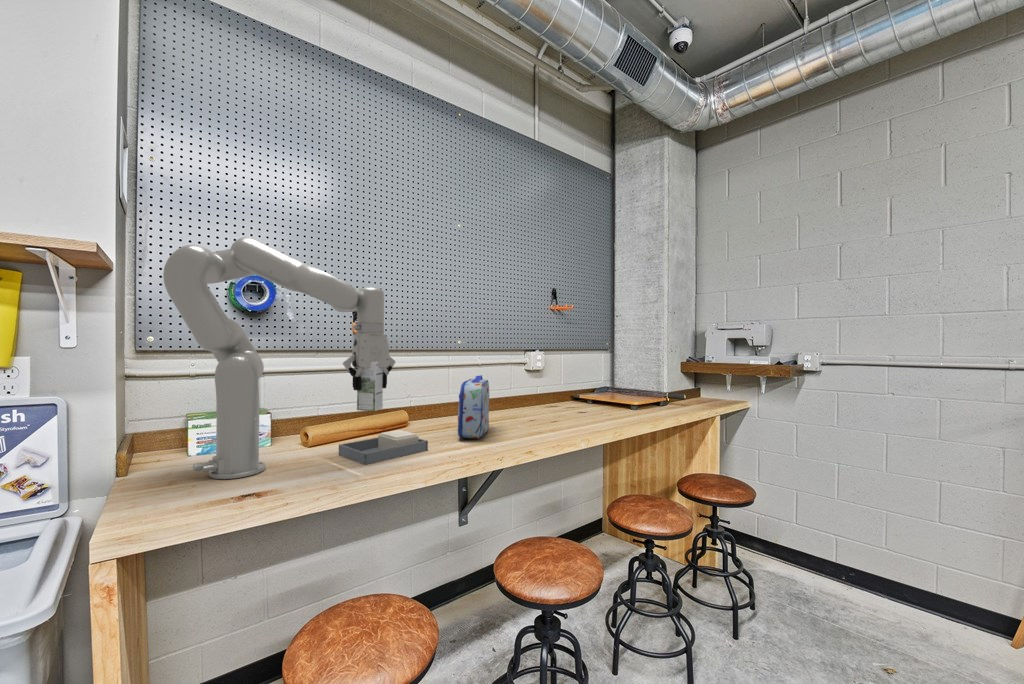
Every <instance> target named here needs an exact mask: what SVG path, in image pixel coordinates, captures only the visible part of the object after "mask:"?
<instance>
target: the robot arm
mask: <svg viewBox="0 0 1024 684" xmlns="http://www.w3.org/2000/svg"><path fill="white" fill-rule="evenodd" d="M162 275H163V277H162V278H163V284H164V288H165V290H166V292H167V294H168V296H169V298H170V300H171V301H172V303H173V304H174V306H175V308H176V309H177V312H179V314H180V316H181V318H182V320H183V321H184V323H185V324H186V326H187V327H188V330H189V331H190V332H191V334H192V336H193V338H194V340H195V341H196V343H197V344H198V345H199V347H200V348H201V349H203V350H205V351H208V352H211V353H212V354H213V357H214V358H215V360H216V361H217V362H218V364H217V365H216V367H215V370H214V371H215V372H214V383H215V384H214V385H215V397H216V398H215V399H216V400H215V401H216V406H215V407H216V427H215V428H216V434H215V435H216V438H215V439H216V440H215V441H216V442H215V447H216V449H215V451H216V452H215V455H214V456H212V457H211V458H212V459H209V460H208V461H205V462H198V463H194V464H193V465H192V470H193V472H194V473H196V472H208V476H209V477H210V478H211V479H215V480H216V479H217V480H231V479H232V480H233V479H238V478H239V479H241V478H245V477H246V478H247V477H249V476H253V475H257V474H259V473H262V472H263V471H264V470H265V469H266V463H265V462H263V461H260V379H261V377H262V376H263V373H264V368H265V367H264V362H263V360H262V358H261V356H260V355H259V354H258V351H257V349H255V347H254V346H253V344H252V342H251V340H250V339H249V337H248V335H247V334H246V332H245V331H244V329H243V328H242V326H241V325H240V324H239V323H238V322H236V320H234V319H232V318H229V317H228V315H227V314H226V313H225V312H224V310H223V308H222V307H221V305H220V303H219V302H218V300H217V299H216V297H215V295H214V294H213V292H212V291H211V289H210V288H209V286H208V285H210V284H212V285H213V284H217V283H223V282H229V281H232V280H237V279H241V278H246V277H251V276H254V275H256V276H259V277H261V278H263V279H265V280H267V281H269V282H271V283H273V284H275V285H277V286H280V287H282V288H284V289H286V290H289V291H293V292H297V293H298V292H299V293H302V294H305V295H307V296H310V297H312V298H314V299H317V300H319V301H321V302H323V303H326V304H327V305H330V307H331V308H332V309H333V310H335V312H339V313H351V312H356V315H357V317H356V319H357V321H356V322H357V323H356V324H355V325H353V326H352V329H353V330H354V331H356V333H355V334H354V338H353V342H352V350H351V352H352V353H351V356H350V357H348V358H347V359H346V360H344V361H343V362H342V365H343V366H344V368H345V369H346V371H347V372H348V373H349V374H350V376H351V377H352V388H353V391H360V390H361V377H359V375H360V373H361V371H362V370H363V368H370V367H371V363H372V362H376V361H378V367H379V368H382V369H383V389H387V385H388V375H389V374H390V372H391V371H392V369H393V367H394V365H395V364H396V360H395V359H393V358H392V357H391V356H390V348H389V347H390V346H389V341H388V335H387V334H384V333H385V324H384V323H385V293H384V290H382V288H378V287H369V286H368V287H366V286H365V287H361V288H359V289H356V288H355V287H354V286H353V285H351V284H349V283H348V282H346V281H344V280H342V279H340V278H338V277H336V276H333V275H332V274H330V273H328V272H325V271H324V270H320V269H319V268H316V267H314V266H312V265H309V264H308V263H305V262H303V261H301V260H298V259H297V258H294V257H292V256H290V255H288V254H286V253H285V252H283V251H280V250H278V249H276V248H274V247H272V246H270V245H268V244H266V243H264V242H262V241H259V240H257V239H255V238H252V237H246V236H244V237H240V238H237V239H236V240H235V241H233V243H232V244H231V246H230V248H228V249H223V250H216V251H211V250H209V249H208V248H206V247H204V246H201V245H195V244H187V245H183V246H181V247H179V248H177V249H176V250H175V251H173V253H171V255H170V256H169V257H168V258H167V260H166V262H165V264H164V267H163V274H162ZM357 368H358V369H357Z"/></svg>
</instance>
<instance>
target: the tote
mask: <svg viewBox="0 0 1024 684" xmlns="http://www.w3.org/2000/svg"><path fill="white" fill-rule="evenodd" d="M428 445H429V440H426V439H422V438H419V441H418V442H417V443H412V444H407V445H403V446H398V447H393V448H389V449H384V450H380V449H378V437H373V438H369V439H363V440H361V439H360V440H356V441H352V442H351V441H350V442H347V443H341V444H338V455H339V456H340V457H344V458H345V459H348V460H351V461H354V462H357V463H360V464H361V465H364V466H367V465H371V464H375V463H380V462H384V461H390V460H392V459H393V460H395V459H397V458H403V457H407V456H410V455H415V454H419V453H423V452H426V451H428V449H429V446H428Z"/></svg>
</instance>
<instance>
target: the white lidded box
mask: <svg viewBox="0 0 1024 684" xmlns="http://www.w3.org/2000/svg"><path fill="white" fill-rule="evenodd" d="M377 438H378V449H380V450H384V449H389V448H393V447H398V446H403V445H407V444H412V443H417V442H418V441H419V439H420V438H419V435H418V434H417V433H414V432H411V431H406V430H403V429H397V430H396V429H395V430H391V431H385V432H380V433H379V434H378V435H377Z"/></svg>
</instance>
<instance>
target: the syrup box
mask: <svg viewBox="0 0 1024 684" xmlns="http://www.w3.org/2000/svg"><path fill="white" fill-rule="evenodd" d="M357 369H358V368H357ZM359 377H361V390H360V391H357V390H356V391H357V392H356V410H357V411H361V412H362V411H365V412H367V411H369V412H376V411H378V410H381V409H383V407H384V405H383V404H384V403H383V402H384V401H383V394H384V393H383V392H384V391H383V389H384V388H383V369H382V368H379V367H378V361H376V362H372V363H371V367H370V368H363V370H362V371H361V373H360V375H359Z"/></svg>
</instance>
